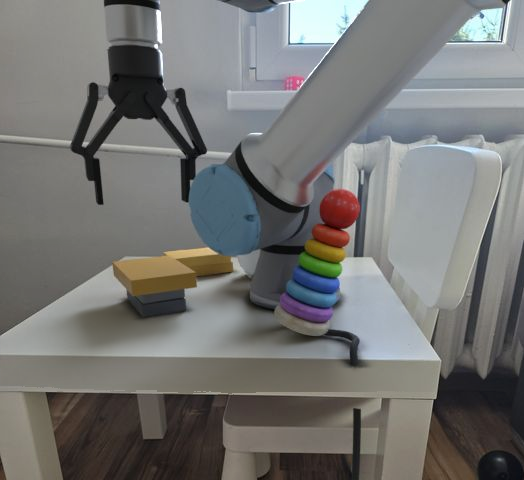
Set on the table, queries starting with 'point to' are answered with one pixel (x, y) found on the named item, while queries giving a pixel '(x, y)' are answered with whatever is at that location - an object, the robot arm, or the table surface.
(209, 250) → the mustard pile
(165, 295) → the grey pile
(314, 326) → the stacking toy
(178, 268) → the mustard block
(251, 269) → the white bowl
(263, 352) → the table surface
